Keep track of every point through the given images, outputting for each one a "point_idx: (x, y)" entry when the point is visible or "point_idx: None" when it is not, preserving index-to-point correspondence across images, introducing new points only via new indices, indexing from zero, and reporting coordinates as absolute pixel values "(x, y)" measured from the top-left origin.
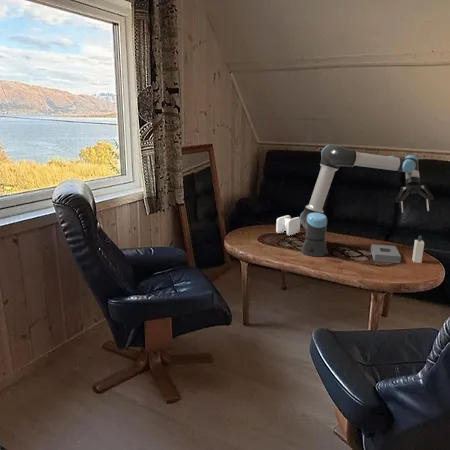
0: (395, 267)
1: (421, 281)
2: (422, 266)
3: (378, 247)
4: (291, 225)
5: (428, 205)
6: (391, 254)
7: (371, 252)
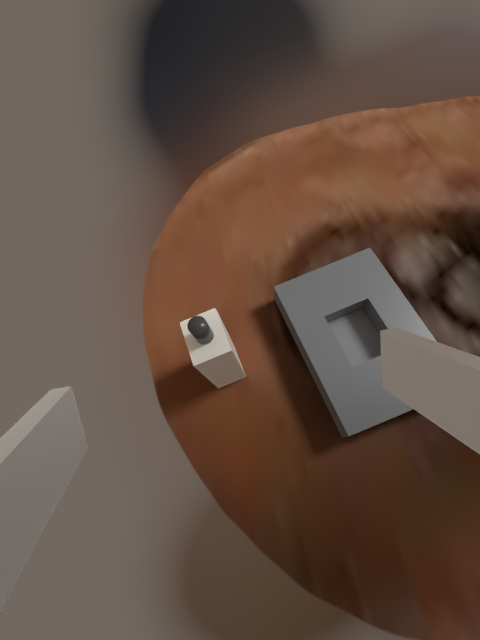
0: (276, 250)
1: (186, 196)
2: None
3: None
4: None
5: (20, 421)
6: (314, 287)
7: None
